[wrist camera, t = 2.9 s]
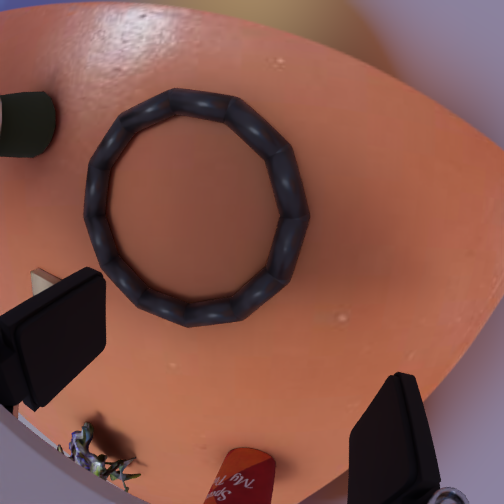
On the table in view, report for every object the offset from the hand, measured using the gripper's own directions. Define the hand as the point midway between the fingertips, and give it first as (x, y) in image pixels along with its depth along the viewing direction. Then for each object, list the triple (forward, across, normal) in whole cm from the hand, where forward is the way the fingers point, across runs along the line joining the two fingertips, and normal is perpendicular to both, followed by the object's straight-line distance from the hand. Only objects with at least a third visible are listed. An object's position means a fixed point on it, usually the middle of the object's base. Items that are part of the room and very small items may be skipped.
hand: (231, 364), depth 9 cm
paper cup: (+13, -4, +25) cm, 28 cm away
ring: (+12, +7, 0) cm, 14 cm away
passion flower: (+13, +14, +35) cm, 40 cm away
